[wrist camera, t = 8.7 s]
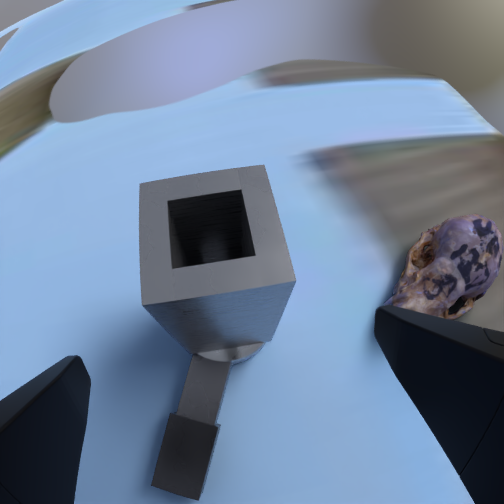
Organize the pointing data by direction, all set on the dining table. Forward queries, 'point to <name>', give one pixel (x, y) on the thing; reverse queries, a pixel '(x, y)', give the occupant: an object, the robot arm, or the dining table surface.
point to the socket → (214, 258)
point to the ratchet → (196, 422)
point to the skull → (450, 266)
